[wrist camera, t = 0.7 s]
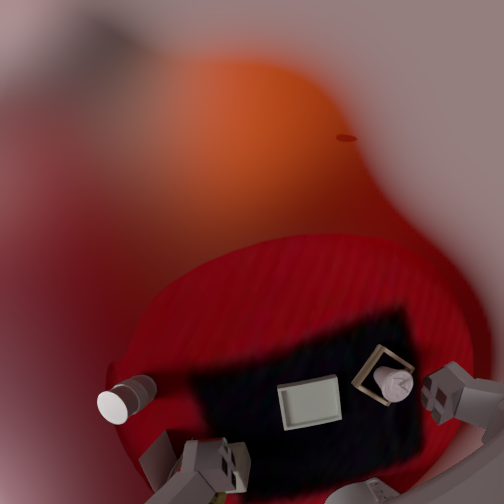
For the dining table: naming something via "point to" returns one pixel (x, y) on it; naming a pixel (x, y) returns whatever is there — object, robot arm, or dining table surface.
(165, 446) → the greeting card
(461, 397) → the robot arm
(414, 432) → the dining table surface
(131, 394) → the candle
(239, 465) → the skincare box
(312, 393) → the tray
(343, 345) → the dining table surface
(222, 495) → the sauce bottle
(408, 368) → the frame
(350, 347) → the dining table surface
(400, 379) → the smoothie
